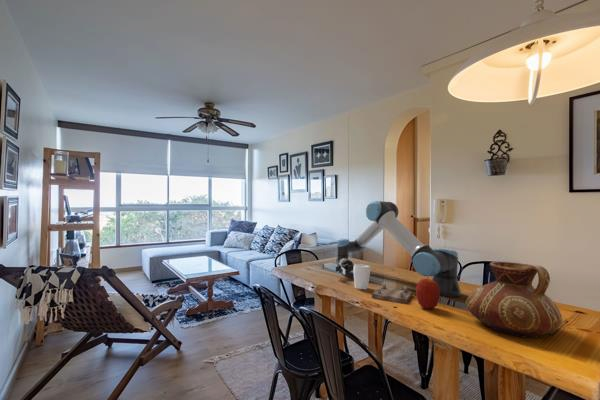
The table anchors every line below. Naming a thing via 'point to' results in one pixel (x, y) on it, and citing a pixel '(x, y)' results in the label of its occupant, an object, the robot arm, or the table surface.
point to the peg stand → (392, 294)
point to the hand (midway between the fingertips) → (356, 272)
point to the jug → (516, 301)
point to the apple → (427, 293)
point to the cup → (361, 276)
